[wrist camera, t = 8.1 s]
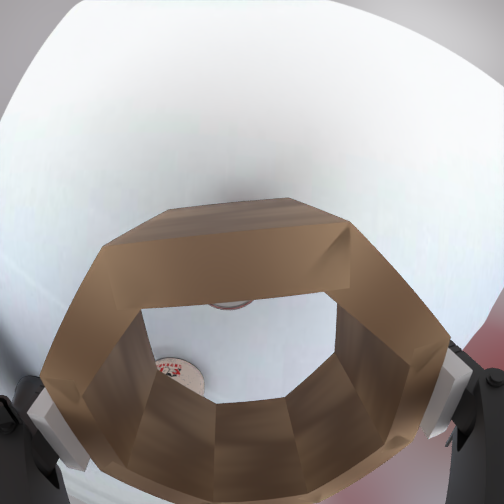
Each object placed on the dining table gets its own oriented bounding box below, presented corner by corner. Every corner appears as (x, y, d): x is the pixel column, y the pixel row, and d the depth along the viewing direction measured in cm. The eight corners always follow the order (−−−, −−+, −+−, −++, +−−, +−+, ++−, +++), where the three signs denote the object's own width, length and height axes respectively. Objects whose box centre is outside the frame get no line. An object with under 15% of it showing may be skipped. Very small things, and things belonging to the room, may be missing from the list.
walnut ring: (153, 419, 13) (133, 506, 8) (95, 220, 10) (-3, 260, 5) (351, 400, 14) (390, 481, 8) (365, 193, 11) (468, 214, 5)
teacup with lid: (180, 345, 37) (166, 403, 26) (218, 388, 39) (217, 447, 28) (121, 375, 38) (97, 428, 26) (159, 412, 40) (146, 466, 29)
